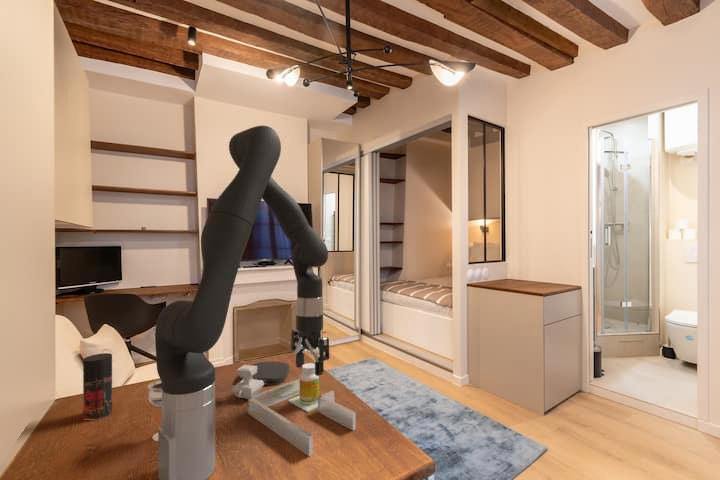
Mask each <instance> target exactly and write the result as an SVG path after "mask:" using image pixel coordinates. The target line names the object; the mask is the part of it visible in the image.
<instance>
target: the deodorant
mask: <svg viewBox="0 0 720 480" xmlns="http://www.w3.org/2000/svg"><path fill="white" fill-rule="evenodd" d="M82 361H83V364H82V367H83V368H82V370H83V373H82V375H83V376H82V378H83V379H82V383H83V386H82V387H83V388H82V389H83V390H82V392H83V393H82V394H83V395H82V397H83V398H82V399H83V400H82V401H83V407H82V408H83V409H82V411H83V412H82V413H83V414H82V415H83V417H82V418H84V419H97V420H99V419H98V418H101V419H103V418H102V417H104V418H105V416H106V417H107V416H110V415H111V414H112V413H111V412H113V353H107V352H106V353H104V352H103V353H95V354H93V355H89V356H86V357H84V358H83V360H82ZM110 413H111V414H110ZM84 419H83V420H84Z"/></svg>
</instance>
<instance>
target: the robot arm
mask: <svg viewBox="0 0 720 480" xmlns="http://www.w3.org/2000/svg"><path fill="white" fill-rule="evenodd" d="M281 149H282V146H281V140H280V136H279V135H278V133H277V132H276V130H275V129H273V128H272V127H270V126H268V125H256V126H253V127H250V128H247V129H245V130H242V131H239V132H237V133H235V134H234V135H232V137H231V138H230V140H229V143H228V151H229V154H230V156H231V159H232V161H233V162H234V164H235V165H236V167H237V168H238V169H239V170H238V172H237V173H236V175H235V176H234V178H233V179H232V180H231V181H230V183H229V184H228V185H227V186H226V188H225V189H224V190H223V191H222V192H221V194H220V195H219V196H218V197H217V199H216V200H215V202H214V203H213V205H212V206H211V208H210V210H209V213H208V215H207V217H206V221H205V223H204V226H203V228H202V232H201V235H200V250H201V251H200V252H201V257H202V258H201V259H202V275H201V277H200V278H201V279H200V283H199V285H198V288H197V290H196V293H195V295H194V297H193V300H192V301H191V300H183V299H182V300H176V301H173V302H171V303H169V304H167V305H166V306H165V307H164V308H163V309H162V310H161V312H160V314H159V315H158V318H157V320H156V323H155V324H156V325H155V329H154V330H155V332H154V335H155V340H154V342H155V344H154V345H155V359H156V360H155V362H156V363H155V364H156V370H157V375H158V377H159V378H160V379H161V382H162V408H161V426H159V427H158V428H157V429H158V431H157V433H158V441H157V442H158V444H157V445H158V447H157V448H158V449H157V450H158V453H157V454H158V455H157V458H158V459H157V462H158V463H157V464H158V466H157V468H158V470H157V472H158V476H157V478H158V479H159V480H207V479H209V477H211V475H212V474H213V473H214V471H215V469H216V369H215V365H213V363H212V362H211V361H210V360H209V359H208V358H207V356H206V354H205V353H206V352H208V351H210V350H211V349H212V348H213V347H214V346H215V345H216V344H217V342H219V339H220V337H222V334H223V331H224V328H225V325H226V321H227V320H226V319H227V317H228V311H229V308H230V303H231V299H232V295H233V294H232V293H233V289H234V285H235V281H236V278H237V275H238V272H239V268H240V264H241V262H242V258H243V255H244V252H245V249H246V246H247V244H248V241H249V239H250V235H251V232H252V230H253V228H254V222H255V221H256V220H255V219H256V216H257V214H258V210H259V208H260V205H261V203H262V200H263V201H264V203H265V204H266V205H267V207H268V209H269V210H270V211H271V213H272V214H273V216H274V219H276V222H277V224H278V225H279V227H280V229H281V230H282V233H283V234H284V235H285V237H286V239H287V240H289V241H290V242H293V243H295V245H294V247H293V249H292V252H291V263H292V266H293V267H292V268H293V271H294V276H295V278H296V282H297V283H296V284H297V285H296V286H297V287H296V289H297V290H296V304H295V329H293V330H291V340H290V341H291V342H290V343H291V344H290V350H291V351H292V352H294V354H295V367H296V368H298V369H300V368H302V365H304V364H305V353H304V352H305V350H307V351H309V352H310V354H311V355H312V357H314V361H315V362H314V364H315V375H316V376H319V377H320V376H322V375H323V374H324V365H325V364H324V362H325V361H328V360H330V339H329V337H328V336H324V337H322V335H321V331H322V330H323V328H324V299H323V279H322V277H321V276H319V275H317V274H316V273H315V272H314V270H313V269H314V268H320V267H323V266H324V265H325V264H326V263H327V261H328V258H329V251H328V248H327V246H326V243H325V241H324V240H323V239H322V237H320V236H319V234H318V233H317V232H316V231H315V230H314V229H313V227H311V225H310V224H309V221H308V219H307V218H306V216H305V214H304V212H303V210H302V208H301V206H300V205H299V204H298V202H297V201H296V200H295V199H294V198H293V197H292V195H290V194H289V193H288V192H287V191H286V190H285V189H283V187H281V186H280V185H279V184H278V183H277V182H276V180H275V179H274V178H273V177H272V175H273V172H274V170H275V169H276V167H277V165H278V161H279V160H280V157H281V151H282V150H281ZM317 348H318V349H317Z"/></svg>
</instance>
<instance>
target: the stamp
mask: <svg viewBox="0 0 720 480" xmlns="http://www.w3.org/2000/svg"><path fill="white" fill-rule="evenodd" d="M236 372H237V374H238V376H239V378H240V377H243V378H244V379H243V380H242V381H240V380H239V382H237V383H236V384H234V385H233V386H232V387H231V393H232V394H233V395H234V396H236V398H241V399H246V400H247V398H248V397H251V396H254V395H256V394H259V393H260V392H261V390H262V389H263V387H264V386H263V385H264V382H263V381H262V380H257V379H252V377H253V375H254V374H256V373H257V366H253V365H251V364H243V365H242V366H240V367H239V368H238V369H236Z"/></svg>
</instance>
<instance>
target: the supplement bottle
mask: <svg viewBox="0 0 720 480" xmlns="http://www.w3.org/2000/svg"><path fill="white" fill-rule="evenodd" d="M301 371H302V372H301V373H300V374H299V379H300V394H299V395H300V402H301V403H303V404H314V403H316V402H318V396H320V375H319V376H316V375H315V363H313V362H309V363H304V365H302V367H301Z"/></svg>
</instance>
